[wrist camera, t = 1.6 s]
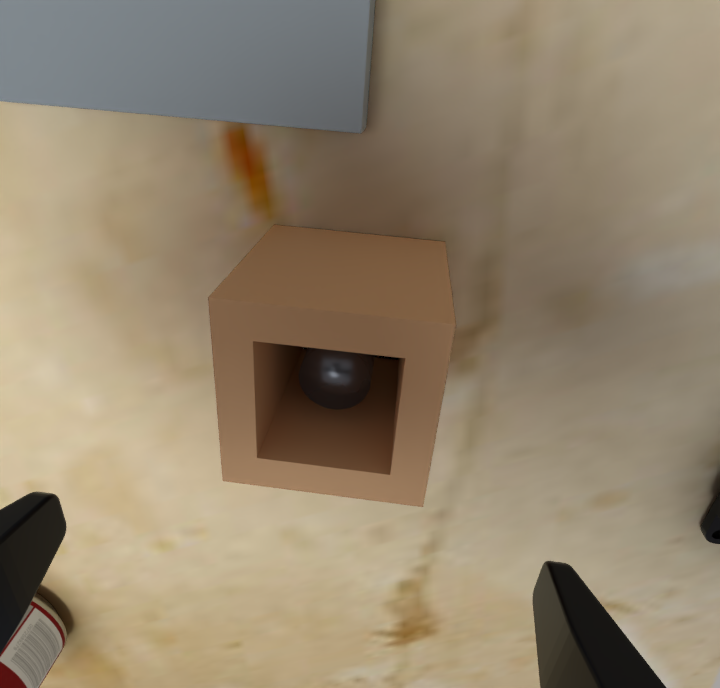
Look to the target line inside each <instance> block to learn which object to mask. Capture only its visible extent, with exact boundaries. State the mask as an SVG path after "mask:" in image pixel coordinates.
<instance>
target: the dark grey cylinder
mask: <svg viewBox="0 0 720 688" xmlns="http://www.w3.org/2000/svg"><path fill="white" fill-rule="evenodd" d="M374 359H375V355H371V354H362V353H353V352H344V351H336V350H327V349H318V348H309V347H308V349H307V351H306V354H305V356H304V359H303V361H302V364H301V367H300V370H299V383H300V386H301V388H302V390H303V392H304V393H305V395H306V396H307V397H308V398H309V399H310V400H312V401H313V402H314V403H316V404H318V405H320V406H322V407H325V408H328V409H336V410H339V409H347V408H351V407H353V406H355V405H357V404H359V403H360V402H361V401H362V400H363V399H364V398H365V397H366V395H367V394H368V392H369V389H370V384H371V378H372V371H373V365H374Z"/></svg>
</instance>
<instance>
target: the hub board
mask: <svg viewBox="0 0 720 688" xmlns="http://www.w3.org/2000/svg"><path fill="white" fill-rule="evenodd" d="M374 13H375V0H0V101H5V102H16V103H27V104H39V105H50V106H61V107H72V108H83V109H94V110H105V111H117V112H128V113H139V114H150V115H161V116H172V117H184V118H195V119H206V120H217V121H228V122H239V123H251V124H262V125H273V126H284V127H295V128H306V129H318V130H329V131H340V132H351V133H362V132H363V131H364V129H365V128H366V125H367V111H368V97H369V83H370V69H371V55H372V41H373V27H374Z"/></svg>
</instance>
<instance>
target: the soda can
mask: <svg viewBox="0 0 720 688" xmlns="http://www.w3.org/2000/svg"><path fill="white" fill-rule="evenodd" d="M66 641H67V632H66V628H65V626H64V624H63V622H62V620H61V619H60V617H59V616H58V614H57V612H56V611H55V609H54V608H53V606H52V605H51V604H50V603H49V602H48V601H47V600H46V599H44V598H43V597H42V596H40V595H39V594H37V593H36V594H35V596H34V598H33V600H32V602H31V604H30V606H29V607H28V609H27V611H26V613H25V615H24V617H23V618H22V620H21V622H20V623H19V625H18V627H17V628H16V630H15V632H14V633H13V635H12V636H11V638H10V640H9V641H8V643H7V644H6V646H5V648H4V649H3V651H2V652H1V654H0V688H39V687H40V685H41V684H42V682H43V680H44V679H45V677H46V675H47V674H48V672H49V671H50V669H51V667H52V666H53V664H54V662H55V661H56V659H57V657H58V656H59V654H60V653H61V651H62V649H63V648H64V646H65V644H66Z"/></svg>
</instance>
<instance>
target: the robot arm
mask: <svg viewBox="0 0 720 688" xmlns="http://www.w3.org/2000/svg"><path fill="white" fill-rule="evenodd" d="M701 531H702V533H703V535H704V536H705V538H706V540H708V541H709V542H711V543H716V544H720V493H719V495H718V497H717V498H716V500H715V502H714V504H713V505H712V507H711V509H710V511H709V513H708V514H707V516H706V518H705V520H704V521H703V523H702V525H701ZM65 533H66V521H65V518H64V514H63V511H62V507H61V504H60V501H59V498H58V497H57V496H56V495H55V494H51V493H44V492H32V493H30V494H28V495H26V496H24V497H22V498H20V499H19V500H17V501H15V502H13V503H11V504H10V505H8V506H6V507H4V508H3V509H1V510H0V654H1V652H2V651H3V649H4V648H5V646H6V644H7V643H8V641H9V640H10V638H11V636H12V635H13V633H14V632H15V630H16V628H17V627H18V625H19V623H20V622H21V620H22V618H23V617H24V615H25V613H26V611H27V609H28V607H29V606H30V604H31V602H32V600H33V598H34V596H35V594H36V592H37V590H38V588H39V586H40V584H41V582H42V580H43V578H44V576H45V574H46V572H47V570H48V568H49V566H50V564H51V562H52V560H53V558H54V556H55V554H56V552H57V550H58V548H59V546H60V544H61V542H62V540H63V538H64V536H65ZM533 611H534V622H535V633H536V644H537V655H538V666H539V677H540V687H541V688H666V687H665V685H664V684H663V683H662V682H661V680H660V679H659V678H658V677H657V675H656V674H655V673H654V671H653V670H652V669H651V668H650V666H649V665H648V664H647V662H646V661H645V660H644V659H643V657H642V656H641V655H640V653H639V652H638V651H637V650H636V648H635V647H634V646H633V645H632V643H631V642H630V641H629V639H628V638H627V637H626V636H625V634H624V633H623V632H622V630H621V629H620V628H619V627H618V625H617V624H616V623H615V621H614V620H613V619H612V618H611V616H610V615H609V614H608V613H607V611H606V610H605V609H604V607H603V606H602V605H601V604H600V602H599V601H598V600H597V598H596V597H595V596H594V595H593V593H592V592H591V591H590V589H589V588H588V587H587V586H586V584H585V583H584V582H583V580H582V579H581V578H580V577H579V575H578V574H577V573H576V572H575V570H574V569H573V568H572V567H571V566H570V565H568V564H566V563H561V562H553V561H546V562H545V563H544V564H543V566H542V569H541V571H540V574H539V577H538V580H537V582H536V585H535V588H534V591H533Z"/></svg>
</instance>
